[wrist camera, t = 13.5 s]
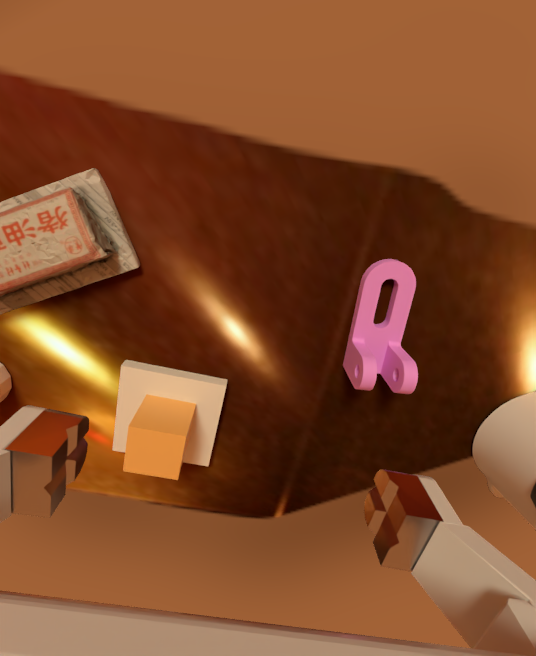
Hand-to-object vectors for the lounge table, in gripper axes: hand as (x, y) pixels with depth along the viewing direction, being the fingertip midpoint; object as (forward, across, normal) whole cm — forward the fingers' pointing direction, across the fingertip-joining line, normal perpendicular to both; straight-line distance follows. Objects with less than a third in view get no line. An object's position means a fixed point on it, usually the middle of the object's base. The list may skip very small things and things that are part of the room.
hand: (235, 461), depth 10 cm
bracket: (+30, -15, +2) cm, 33 cm away
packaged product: (+30, +22, +3) cm, 37 cm away
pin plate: (+29, +6, +20) cm, 36 cm away
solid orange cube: (+28, +6, +20) cm, 35 cm away
